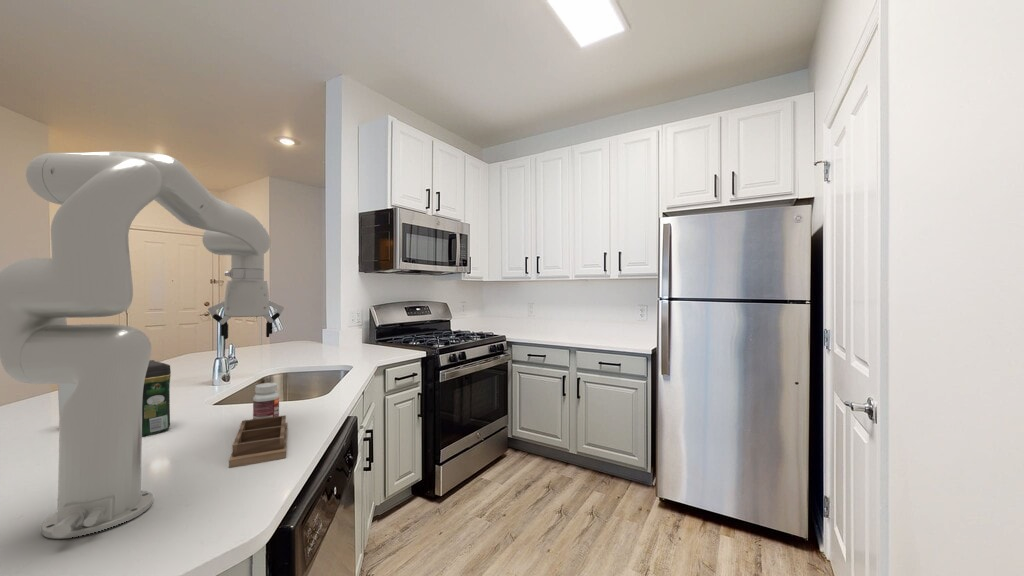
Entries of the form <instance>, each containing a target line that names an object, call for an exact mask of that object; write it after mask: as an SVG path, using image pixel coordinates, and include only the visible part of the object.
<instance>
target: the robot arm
mask: <svg viewBox="0 0 1024 576" xmlns="http://www.w3.org/2000/svg"><path fill="white" fill-rule="evenodd" d="M25 179H26V182H27V184H28V185H29V188H30V189H31V190H32V191H33V192H34V193H35V194H36V195H37V196H39V197H40V198H42V199H43V200H45V201H47V202H49V203H53V204H55V205H60V206H59V208H58V209H57V210H56V212H55V214H54V215H53V218H52V221H51V225H50V240H51V243H50V244H51V258H48V257H40V258H39V257H38V258H35V257H34V258H26V259H20V260H17V261H14V262H12V263H9V264H8V265H5V267H3V268H2V269H1V270H0V361H1V365H2V367H3V369H4V371H5V372H6V373H7V375H9V376H10V378H12V379H14V380H15V381H18V382H21V383H25V384H35V385H37V384H39V385H41V384H42V385H43V384H49V385H51V384H52V385H54V384H57V385H58V384H60V383H72V384H78V385H77V387H76V389H75V390H74V392H73V393H72V395H71V396H70V397H69V398H68V400H67V401H66V403H65V404H64V406H63V408H62V410H61V413H60V418H59V417H58V429H59V433H58V437H59V438H58V439H59V440H58V481H57V482H58V483H57V484H58V485H57V512H55V513H54V514H52V515H50V516H49V517H48V518H47V519H46V520H44V521H43V523H42V524H41V534H42V536H43V537H45V538H49V539H59V540H60V539H61V540H62V539H72V537H73V538H77V537H78V536H79V537H83V536H82V535H84V536H87V535H86V534H89V535H91V534H90V533H93V534H95V533H94V532H96V533H99V532H98V531H100V530H103V531H105V530H104V529H106V530H108V529H107V528H109V529H111V528H110V527H112V528H114V527H113V526H115V527H117V526H119V525H118V524H120V525H122V524H121V523H123V524H125V523H126V521H127V522H128V521H131V520H134V519H135V518H137V517H139V516H140V515H142V514H143V513H145V512H146V511H147V510H148V509H149V508H150V507H151V506H152V504H153V500H154V497H153V494H152V493H151V492H149V491H147V490H142V457H143V456H142V451H143V449H142V448H143V447H142V446H143V435H142V400H143V387H144V381H145V376H146V372H147V368H148V364H149V361H150V360H151V355H152V343H151V342H152V341H150V338H149V336H147V334H146V333H145V332H144V331H142V330H141V329H138V328H136V327H133V326H129V325H123V324H114V323H113V324H109V323H108V324H107V323H106V324H102V323H101V324H97V323H94V324H90V323H89V324H87V323H86V324H68V323H67V318H68V319H69V318H77V319H79V318H85V319H86V318H88V319H89V318H90V319H91V318H103V317H104V318H105V317H113V316H117V315H120V314H122V313H124V312H125V311H126V312H127V310H128V309H129V308H130V306H131V305H132V302H133V297H134V287H133V275H132V266H131V265H132V263H131V256H130V241H129V232H130V227H131V225H132V223H133V221H134V220H135V218H136V217H137V216H138V215H139V213H140V212H141V211H142V210H143V209H144V208H145V207H147V206H148V205H149V204H151V203H152V202H153V201H155V202H156V203H158V204H159V205H160V206H161V207H162V208H164V210H167V211H168V212H169V214H170V215H172V216H173V217H175V219H177V220H178V221H179V222H181V223H182V224H184V225H187V226H190V227H193V228H197V229H201V230H205V231H204V233H203V235H202V238H201V239H202V244H203V246H204V248H205V249H206V250H207V251H208V252H209V253H211V254H214V255H216V256H230V259H231V261H230V262H231V263H230V264H231V265H230V266H231V267H230V268H231V269H230V270H226V271H224V276H225V277H229V278H230V280H227V283H226V286H225V291H224V301H222V302H220V303H218V304H215V305H212V306H210V307H208V309H207V310H208V312H209V314H210V315H211V317H212V319H214V320H215V321H216V322H218V323H219V324H220V337H223V340H227V339H228V338H229V323H228V321H229V320H230V319H231V318H257V317H259V318H260V317H261V318H262V317H263V318H264V319H265V320H266V321H267V322H266V324H265V325H266V326H265V330H266V331H265V337H266V338H270V335H272V334H273V323H274V321H276V320H277V319H278V318H279V317H280V316H281V314H282V312H283V310H285V309H284V306H283V305H280V304H278V303H276V302H274V301H271V300H270V295H269V294H270V293H269V285H268V281H267V280H265V254H267V252H269V249H270V247H271V238H270V235H269V232H268V231H267V229H266V227H264V225H263V224H262V223H261V222H260V220H259V219H258V218H257V217H256V216H254V215H252V214H251V213H250V212H248V211H246V210H244V209H242V208H240V207H238V206H235V205H234V204H231V203H230V202H228V201H225V200H222V199H220V198H218V197H215V196H214V195H212V193H211V192H210V191H209V190H208V189H207V188H206V187H205V186H204V185H203V184H202V183H201V181H199V180H198V179H197V178H196V176H194V175H193V174H192V172H190V171H189V170H188V168H186V166H185V165H184V164H183V163H182V162H181V161H180V160H178V159H177V158H175V157H173V156H171V155H168V154H164V153H157V152H143V151H142V152H140V151H119V150H118V151H115V150H113V151H112V150H111V151H109V150H108V151H90V152H89V151H88V152H85V151H83V152H47V153H42V154H40V155H38V156H36V157H34V158H33V159H32V160H31V161H30V162H29V163H28V165H27V166H26V170H25ZM270 307H271V308H274V309H276V312H275V313H274V314H273V315H272V316H271V315H270V314H269V312H270ZM221 308H223V311H224V316H223V317H222V316H221V315H219V314H218V312H217V310H219V309H221ZM124 522H125V523H124ZM116 525H117V526H116ZM100 532H101V531H100Z"/></svg>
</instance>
